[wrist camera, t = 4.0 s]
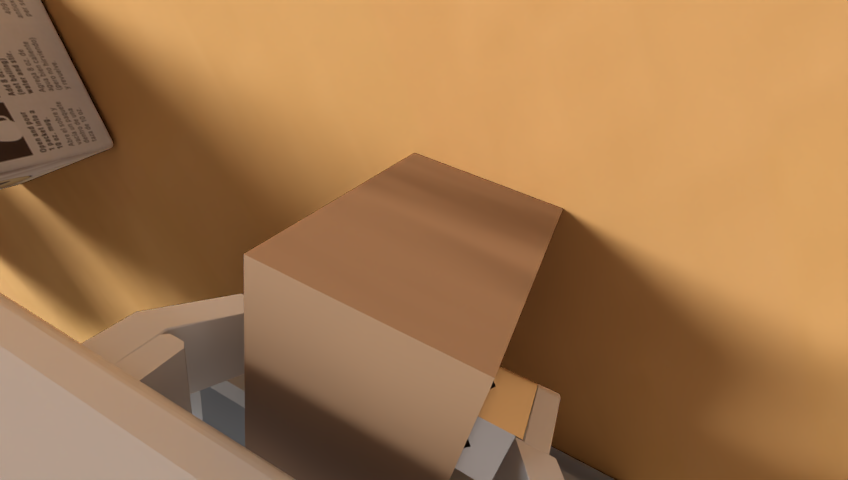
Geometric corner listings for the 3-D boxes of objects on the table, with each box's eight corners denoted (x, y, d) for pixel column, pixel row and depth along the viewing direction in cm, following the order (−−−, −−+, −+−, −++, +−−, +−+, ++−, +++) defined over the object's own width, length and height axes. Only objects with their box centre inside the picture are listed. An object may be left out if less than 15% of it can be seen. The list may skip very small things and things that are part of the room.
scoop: (387, 142, 12) (202, 233, 7) (596, 221, 10) (556, 408, 5) (337, 426, 18) (225, 577, 13) (460, 497, 17) (386, 696, 12)
